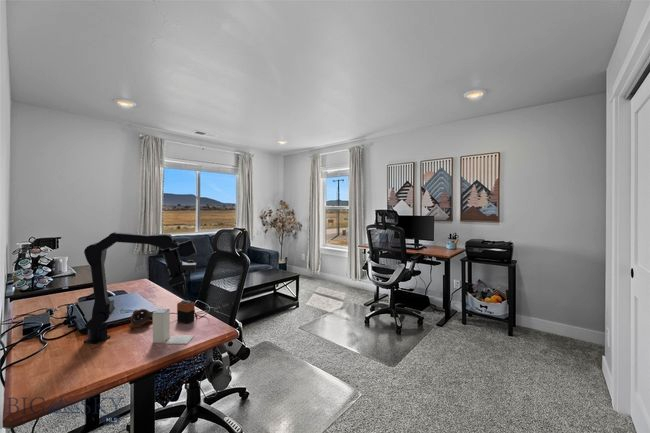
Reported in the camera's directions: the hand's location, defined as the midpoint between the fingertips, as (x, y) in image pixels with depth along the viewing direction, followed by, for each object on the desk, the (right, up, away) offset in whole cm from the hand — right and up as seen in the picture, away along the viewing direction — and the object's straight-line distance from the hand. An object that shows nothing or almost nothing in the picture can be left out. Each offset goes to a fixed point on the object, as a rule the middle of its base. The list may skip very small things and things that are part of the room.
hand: (184, 293), depth 132 cm
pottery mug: (-22, -16, +4) cm, 27 cm away
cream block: (-4, -16, -11) cm, 20 cm away
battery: (-3, -16, +8) cm, 18 cm away
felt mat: (+4, -16, -11) cm, 20 cm away
